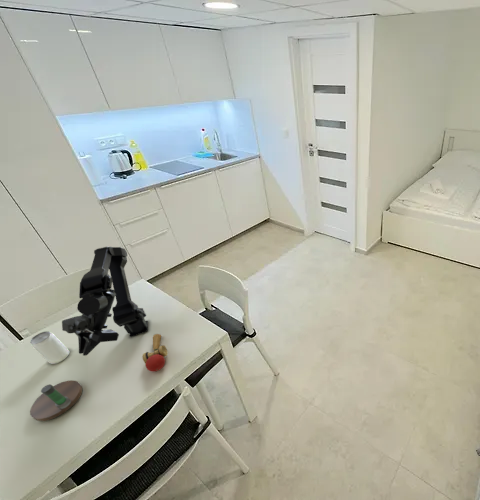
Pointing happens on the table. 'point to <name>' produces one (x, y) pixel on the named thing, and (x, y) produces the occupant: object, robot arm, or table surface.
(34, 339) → the can
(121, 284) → the robot arm
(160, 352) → the kendama
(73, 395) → the disc
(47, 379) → the table surface
